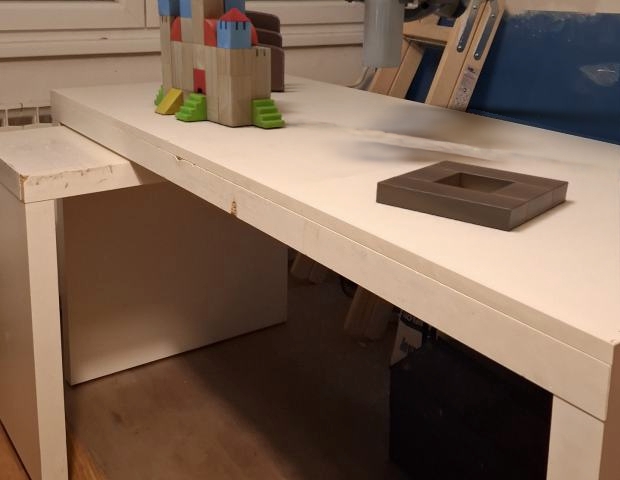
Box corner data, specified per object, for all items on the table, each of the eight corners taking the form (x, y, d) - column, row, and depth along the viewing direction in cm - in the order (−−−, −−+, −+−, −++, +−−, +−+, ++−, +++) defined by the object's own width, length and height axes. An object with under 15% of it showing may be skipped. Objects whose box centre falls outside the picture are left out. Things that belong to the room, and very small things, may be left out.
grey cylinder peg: (355, 64, 90) (359, -32, 85) (389, 63, 91) (394, -32, 87) (372, 69, 86) (377, -32, 81) (407, 67, 88) (414, -32, 83)
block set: (303, 125, 113) (307, -17, 105) (222, 133, 105) (219, -20, 97) (207, 100, 133) (204, -21, 125) (133, 105, 125) (124, -24, 117)
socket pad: (443, 177, 86) (445, 159, 85) (565, 200, 78) (568, 181, 77) (375, 201, 75) (376, 182, 75) (508, 231, 68) (511, 209, 67)
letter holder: (181, 84, 151) (177, 7, 145) (279, 85, 154) (280, 10, 148) (180, 91, 142) (176, 9, 136) (284, 92, 145) (285, 12, 139)
